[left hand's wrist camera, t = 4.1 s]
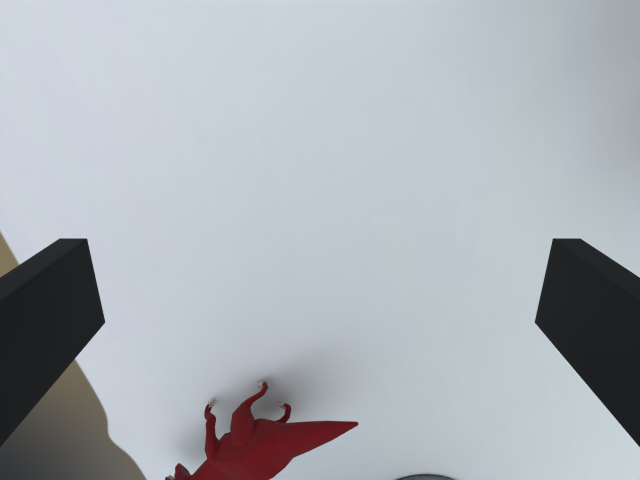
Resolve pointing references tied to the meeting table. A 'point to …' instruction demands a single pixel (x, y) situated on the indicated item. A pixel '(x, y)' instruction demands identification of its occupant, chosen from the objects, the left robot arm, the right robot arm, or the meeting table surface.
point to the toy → (258, 444)
